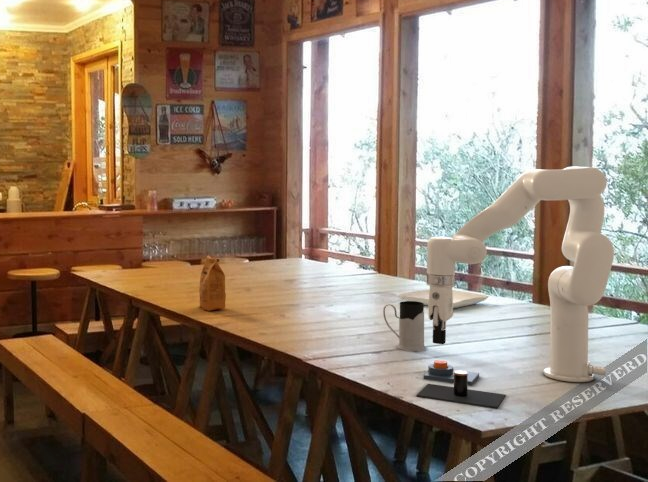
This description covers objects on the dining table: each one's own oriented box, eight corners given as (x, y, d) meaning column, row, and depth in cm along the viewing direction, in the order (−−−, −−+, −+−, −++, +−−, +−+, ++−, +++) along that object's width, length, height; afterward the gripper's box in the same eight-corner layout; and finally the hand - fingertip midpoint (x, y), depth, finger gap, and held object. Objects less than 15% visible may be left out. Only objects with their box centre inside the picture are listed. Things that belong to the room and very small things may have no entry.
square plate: (490, 303, 333) (490, 294, 332) (451, 312, 317) (451, 302, 317) (435, 295, 355) (435, 286, 355) (395, 302, 340) (395, 293, 340)
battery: (468, 394, 210) (468, 371, 210) (465, 397, 207) (466, 374, 207) (455, 392, 212) (455, 369, 212) (452, 395, 209) (452, 372, 209)
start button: (448, 367, 228) (448, 361, 228) (445, 370, 225) (445, 363, 225) (435, 365, 230) (435, 359, 230) (432, 368, 227) (432, 362, 227)
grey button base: (479, 377, 227) (479, 366, 227) (471, 386, 219) (471, 375, 218) (432, 370, 234) (432, 361, 234) (423, 379, 226) (423, 368, 226)
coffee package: (218, 304, 342) (217, 254, 341) (228, 310, 330) (227, 258, 329) (196, 306, 339) (195, 255, 338) (205, 311, 327) (204, 259, 326)
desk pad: (505, 396, 209) (505, 394, 209) (497, 408, 199) (497, 407, 199) (428, 385, 220) (428, 383, 220) (416, 396, 210) (416, 394, 210)
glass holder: (419, 352, 255) (419, 306, 255) (377, 346, 265) (377, 301, 264) (429, 347, 262) (429, 302, 261) (389, 341, 271) (389, 298, 271)
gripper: (447, 285, 218) (446, 350, 219) (460, 277, 231) (458, 339, 232) (420, 282, 222) (418, 346, 223) (433, 275, 235) (432, 336, 236)
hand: (439, 343), depth 227 cm, fingers closed
